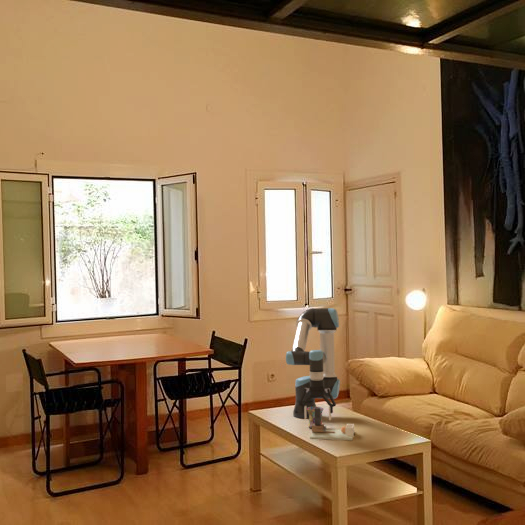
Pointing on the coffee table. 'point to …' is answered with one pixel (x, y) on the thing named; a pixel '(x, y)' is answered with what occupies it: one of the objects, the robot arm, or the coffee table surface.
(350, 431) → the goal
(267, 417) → the coffee table surface
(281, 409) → the coffee table surface
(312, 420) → the mug
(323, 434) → the pitch
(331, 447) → the coffee table surface
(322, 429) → the kicker
